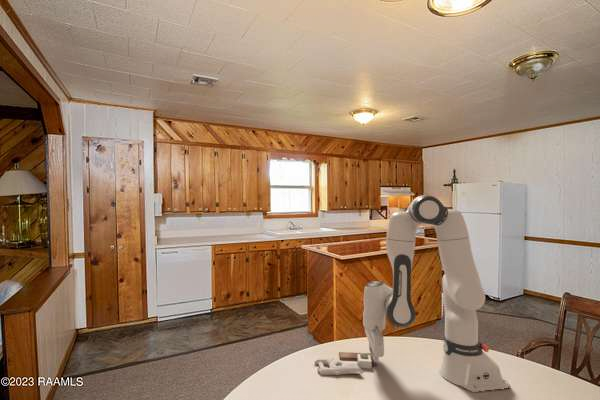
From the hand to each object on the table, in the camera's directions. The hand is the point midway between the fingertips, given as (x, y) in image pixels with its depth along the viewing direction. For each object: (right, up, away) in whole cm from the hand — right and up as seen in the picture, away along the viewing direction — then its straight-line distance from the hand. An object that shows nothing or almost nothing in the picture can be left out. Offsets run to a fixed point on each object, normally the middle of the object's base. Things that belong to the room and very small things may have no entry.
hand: (373, 355), depth 118 cm
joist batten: (-6, -3, +5) cm, 8 cm away
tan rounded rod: (0, -3, 0) cm, 3 cm away
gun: (-15, -4, -4) cm, 16 cm away
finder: (-4, -4, 0) cm, 5 cm away
